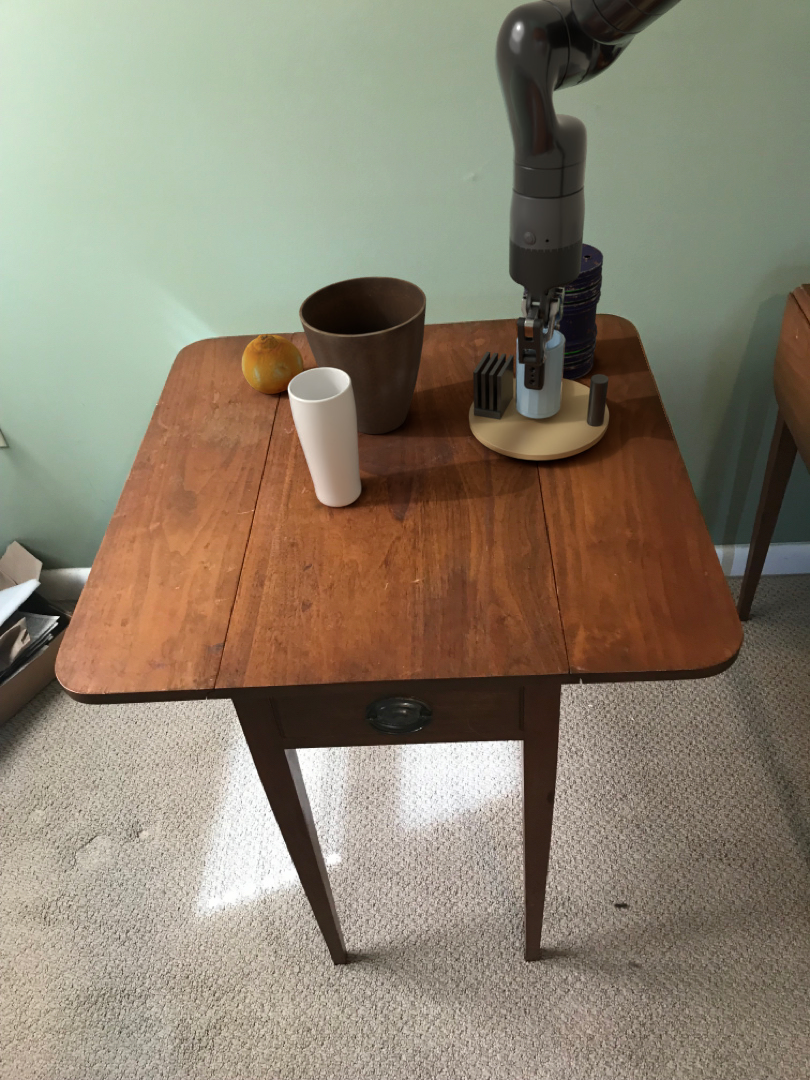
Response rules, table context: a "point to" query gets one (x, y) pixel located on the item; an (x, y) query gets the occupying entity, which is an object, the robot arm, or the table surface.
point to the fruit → (271, 363)
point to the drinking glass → (328, 432)
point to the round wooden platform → (535, 437)
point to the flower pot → (370, 343)
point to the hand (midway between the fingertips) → (539, 373)
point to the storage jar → (581, 314)
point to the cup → (551, 393)
